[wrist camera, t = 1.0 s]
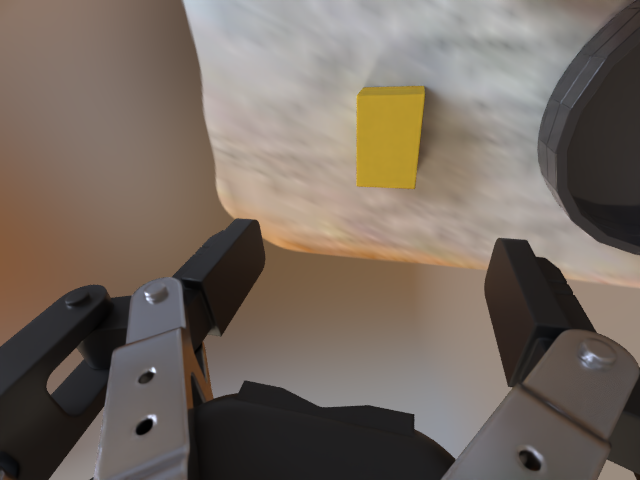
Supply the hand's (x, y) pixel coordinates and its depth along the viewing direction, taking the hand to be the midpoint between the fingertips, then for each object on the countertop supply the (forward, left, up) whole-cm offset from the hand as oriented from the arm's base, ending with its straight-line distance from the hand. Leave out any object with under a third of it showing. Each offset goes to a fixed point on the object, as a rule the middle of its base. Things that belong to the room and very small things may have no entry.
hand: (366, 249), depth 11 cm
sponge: (0, 0, -15) cm, 15 cm away
